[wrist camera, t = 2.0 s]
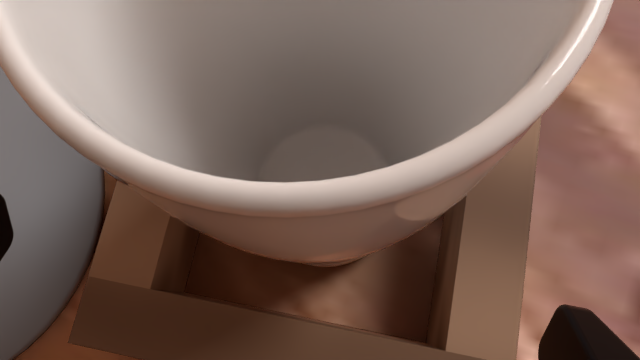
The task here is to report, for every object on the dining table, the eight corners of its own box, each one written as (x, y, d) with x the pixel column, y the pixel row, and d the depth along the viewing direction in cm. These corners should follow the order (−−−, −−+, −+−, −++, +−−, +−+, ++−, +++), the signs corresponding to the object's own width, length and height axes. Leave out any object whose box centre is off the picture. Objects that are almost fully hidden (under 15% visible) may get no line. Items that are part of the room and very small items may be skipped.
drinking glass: (226, 134, 20) (-56, -302, 6) (392, 100, 20) (524, -411, 6) (254, 304, 19) (-45, 298, 4) (434, 268, 19) (764, 134, 4)
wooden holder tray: (475, 414, 17) (525, 454, 13) (117, 336, 19) (41, 346, 14) (515, 73, 20) (568, 2, 16) (205, 22, 22) (168, -58, 17)
